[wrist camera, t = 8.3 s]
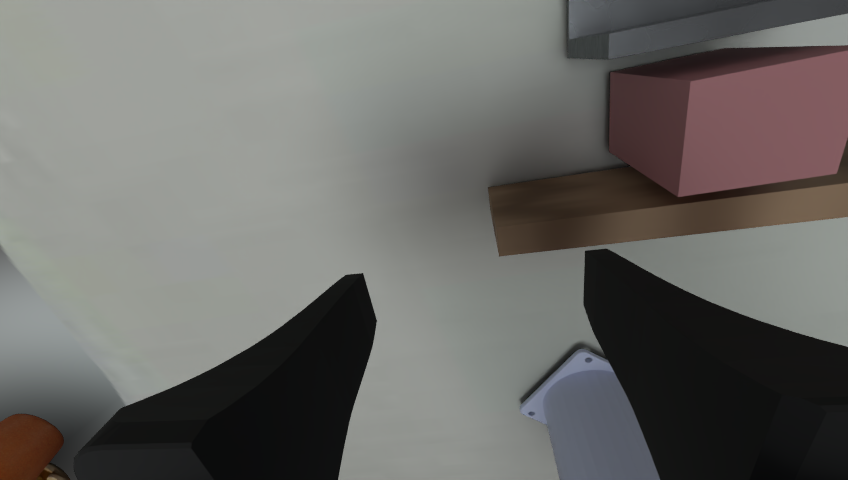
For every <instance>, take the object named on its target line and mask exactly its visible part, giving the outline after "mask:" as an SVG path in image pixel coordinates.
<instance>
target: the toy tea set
mask: <svg viewBox="0 0 848 480" xmlns="http://www.w3.org/2000/svg"><path fill="white" fill-rule="evenodd" d="M63 443H64V439H63V436H62V434H61V433H60V431H59V430H58V429H57V428H56V427H55V426H53V425H52V424H50V423H49V422H47V421H46V420H44V419H41V418H39V417H36V416H33V415H28V414H15V415H12V416H10V417H8V418H6V419H4V420H3V421H1V422H0V480H70V478H69V477H68V475H67V474H66V473H65V472H64V471H63V470H62V469H60V468H59V467H57V466H56V465H54V464H52V463H50V461H51V460H52V458H53V457H54V456H55V455H56V454H57V452H58V451H59V450H60V448H61V447H62V445H63Z"/></svg>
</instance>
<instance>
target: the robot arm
mask: <svg viewBox="0 0 848 480" xmlns="http://www.w3.org/2000/svg"><path fill="white" fill-rule="evenodd" d="M584 307H585V310H586V313H587V316H588V319H589V322H590V324H591V327H592V330H593V332H594V334H595V336H596V338H597V340H598V342H599V344H600V346H601V348H602V350H603V352H604V354H605V356H606V358H607V360H606V359H604V358H602V357H600V356H598V355H596V354H594V353H592V352H590V351H588V350H586V349H579V350H577V351H576V352H575V353H574V354H573V355H571V356H570V357H569V358H568V359H567V360H566V361H565V362H564V363H563V364H562V365H561V366H560V367H559V368H558V369H557V370H556V371H555V372H554V373H553V374H552V375H551V376H550V377H549V378H548V379H547V380H546V381H545V382H544V383H543V384H542V385H541V386H540V387H539V388H538V389H537V390H536V391H535V392H534V393H533V394H532V395H531V396H530V397H529V398H527V399H526V400H525V401H524V402H523V403H522V404H521V405H520V412H521V413H522V414H523V415H526V416H528V417H530V418H532V419H535V420H537V421H539V422H541V423H544V424H546V425H547V427H548V431H549V435H550V440H551V444H552V448H553V453H554V457H555V461H556V465H557V470H558V474H559V478H560V480H848V347H846V346H842V345H838V344H835V343H831V342H827V341H823V340H819V339H816V338H813V337H809V336H806V335H802V334H799V333H795V332H792V331H789V330H786V329H783V328H780V327H777V326H774V325H771V324H768V323H764V322H761V321H758V320H756V319H753V318H750V317H747V316H744V315H742V314H739V313H736V312H734V311H731V310H729V309H726V308H724V307H721V306H719V305H716V304H714V303H711V302H709V301H707V300H704V299H702V298H700V297H698V296H695V295H693V294H691V293H689V292H687V291H685V290H683V289H681V288H679V287H676V286H674V285H673V284H671V283H669V282H667V281H665V280H663V279H661V278H659V277H657V276H655V275H653V274H652V273H650V272H648V271H646V270H644V269H642V268H641V267H639V266H637V265H635V264H634V263H632V262H630V261H628V260H626V259H625V258H623V257H621V256H619V255H618V254H616V253H614V252H612V251H610V250H608V249H599V250H589V251H585V273H584ZM376 322H377V320H376V316H375V313H374V310H373V306H372V303H371V299H370V296H369V292H368V289H367V285H366V282H365V279H364V275H363V273H361V274H351V275H345V276H344V277H342V278H341V279H340V280H338V281H337V282H336V283H335V284H334V285H332V286H331V287H330V288H329V289H328V290H326V291H325V292H324V293H323V294H322V295H320V296H319V297H318V298H317V299H316V300H314V301H313V302H312V303H311V304H310V305H308V306H307V307H306V308H305V309H304V310H302V311H301V312H300V313H298V314H297V315H296V316H294V317H293V318H292V319H291V320H289V321H288V322H287V323H285V324H284V325H283V326H281V327H280V328H279V329H277V330H276V331H274V332H273V333H272V334H270V335H269V336H267V337H266V338H264V339H263V340H261V341H259V342H258V343H256V344H255V345H253V346H252V347H250V348H248V349H247V350H245V351H243V352H241V353H240V354H238V355H236V356H234V357H233V358H231V359H229V360H227V361H225V362H224V363H222V364H220V365H218V366H216V367H214V368H213V369H211V370H209V371H206V372H204V373H202V374H200V375H198V376H196V377H194V378H192V379H190V380H188V381H186V382H183V383H181V384H179V385H177V386H175V387H172V388H170V389H168V390H165V391H163V392H160V393H158V394H155V395H153V396H151V397H148V398H146V399H143V400H141V401H138V402H136V403H133V404H131V405H128V406H126V407H123V408H121V409H120V410H118V412H116V414H115V415H114V416H113V417H112V418H111V419H110V420H109V421H108V422H107V423H106V424H105V425H104V426H103V427H102V428H101V429H100V430H99V431H98V432H97V433H96V435H94V437H93V438H92V439H91V440H90V441H89V442H88V443H87V444H86V445H85V446H84V447H83V448H82V449H81V450H80V451H79V452H78V454H77V455H76V456H75V458H74V472H75V474H76V477H77V479H78V480H338V476H339V471H340V465H341V460H342V455H343V449H344V444H345V440H346V435H347V430H348V425H349V421H350V417H351V413H352V410H353V406H354V403H355V400H356V397H357V394H358V390H359V387H360V384H361V381H362V378H363V375H364V372H365V369H366V366H367V362H368V359H369V356H370V353H371V349H372V346H373V340H374V335H375V329H376ZM586 358H588V359H586Z"/></svg>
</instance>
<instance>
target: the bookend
mask: <svg viewBox="0 0 848 480" xmlns="http://www.w3.org/2000/svg"><path fill="white" fill-rule="evenodd" d="M847 13H848V0H567V37H568V58H580V59H613V58H619V57H624V56H629V55H634V54H639V53H644V52H650V51H655V50H660V49H665V48H670V47H676V46H681V45H686V44H691V43H696V42H701V41H707V40H712V39H717V38H722V37H727V36H733V35H738V34H743V33H748V32H753V31H759V30H764V29H769V28H774V27H779V26H784V25H790V24H795V23H800V22H805V21H810V20H816V19H821V18H826V17H831V16H836V15H841V14H847Z"/></svg>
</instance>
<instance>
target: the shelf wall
mask: <svg viewBox="0 0 848 480" xmlns="http://www.w3.org/2000/svg"><path fill="white" fill-rule="evenodd" d="M488 192H489V201H490V210H491V215H492V221H493V226H494V231H495V237H496V242H497V247H498V252H499V256H507V255H516V254H524V253H533V252H542V251H551V250H560V249H568V248H577V247H586V246H595V245H604V244H613V243H621V242H630V241H639V240H648V239H657V238H665V237H674V236H683V235H692V234H701V233H709V232H718V231H727V230H736V229H745V228H754V227H762V226H771V225H780V224H789V223H798V222H806V221H815V220H824V219H833V218H842V217H848V138H847V142H846V145H845V148H844V152H843V155H842V158H841V161H840V165H839V168H838V171H837V174H831V175H824V176H817V177H810V178H804V179H797V180H790V181H783V182H777V183H770V184H763V185H756V186H750V187H743V188H736V189H729V190H723V191H716V192H709V193H702V194H696V195H689V196H682V197H677V196H676V195H674V194H673V193H671V192H669V191H668V190H666V189H665V188H663V187H662V186H660V185H659V184H657V183H656V182H654V181H653V180H651V179H650V178H648V177H647V176H645V175H644V174H642V173H641V172H639V171H638V170H636V169H635V168H633V167H624V168H617V169H610V170H604V171H597V172H590V173H583V174H576V175H569V176H562V177H555V178H549V179H542V180H535V181H528V182H521V183H514V184H507V185H500V186H494V187H488Z"/></svg>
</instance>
